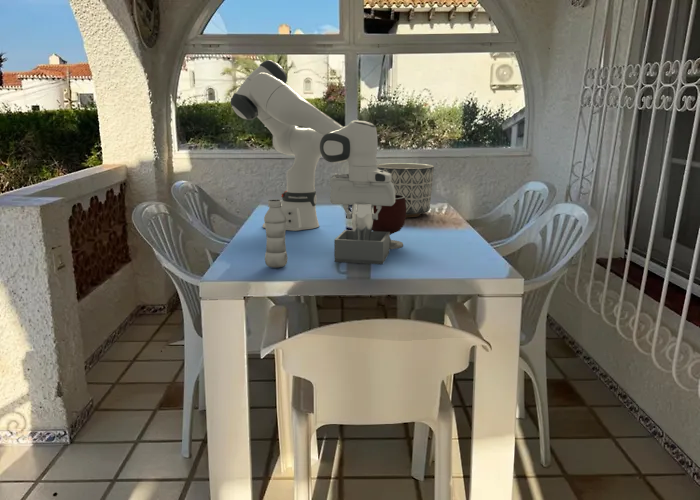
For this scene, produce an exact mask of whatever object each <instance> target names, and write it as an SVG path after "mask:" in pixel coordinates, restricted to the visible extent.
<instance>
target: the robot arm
mask: <svg viewBox="0 0 700 500" xmlns="http://www.w3.org/2000/svg"><path fill="white" fill-rule="evenodd" d="M287 75H288V74H287V73H286V72H285V70H284V68H283V67H282V66H281V64H279V63H278V62H276V61H274V60H271V59H267V60H264V61H263V62H261V63H260V64H259V65H258V67H257V68H256V69H254V70H253V71H252V72H251V73H250V74H249V75H248V76H247V77H246V79H245V80H244V82H242V84H241V85H240V86H239V88H238V89H237V90H236V92H234V93H233V94H232V97H231V99H230V106H231V107H232V109H233V111H234V113H235V114H236V115H237V116H238V117H240V118H241V119H243V120H246V121H253V120H254V119H256V118H257V119H258V120H259V121H260V122H261V123H262V124H263V125H264V126H265V127H266V128H267V129H268V130H269V132H270V133H271V134H272V145H273V148H274V149H275V151H277V153H280V154H282V155H285V156H290V157H291V156H294V159H293V160H294V161H293V164H292V166H291V167H290V168H288V169H287V171H286V190H285V191H284V192H283V193H282V194H281V198H282V199H281V205H282V207H281V209H282V210H283V212H284V213H285V214H286V217H287V221H286V230H285V231H294V232H295V231H296V232H298V231H302V230H312V229H315V228H319V227H320V224H319V219H318V216H317V207H316V205H317V192H316V189H315V185H316V184H315V182H316V181H315V180H316V169H317V165H318V163H319V161H320V159H321V157H322V158H323V159H324V160H325V161H326V162H328V163H333V164H337V163H346V162H347V163H348V173H341V174H338V173H335V174H334V175H332V176H331V177H330V178H329V186H330V193H329V194H330V195H329V200H330V201H329V202H330V203H331V204H332V205H343V206H342V208H343V210H344V211H345V212H344V213H345V214H346V219H348V220H352V211H351V212H350V210H349V207H350V205H352V206H353V203H357V204H371V205H376V209H378V210H377V212H376V213H374V214H373V220H378V213H379V212H380V210H381V208H382V206H392V205H394V203H395V189H394V185H393V183H392V182H391V181H390V180H391V179H392V175H391V174H390V173H388V172H385V171H382V170H379V169H377V165H378V161H377V155H378V154H377V153H378V152H379V151H378V149H379V147H378V146H379V144H378V132H377V131H378V130H377V127H376V125H375V124H374V123H372V122H370V121H365V120H357V119H354V120H352V121H350V122H349V123H348V124H347V125H345V126H344V125H342V124H340V123H339V122H337V121H336V120H335V119H333V118H332V117H330V116H329V115H328V114H326V113H325V112H323V111H321V110H320V109H319V108H317V107H316V106H314V105H313V104H312V103H311V102H310V101H308V100H306V99H305V98H304V97H303V96H302V95H300V94H299V93H298V92H297V91H296V90H294V88H292V87H291V86H289V85H288V84H287V81H288V76H287ZM262 228H263V229H266V228H265V222H264V223H263V224H262Z"/></svg>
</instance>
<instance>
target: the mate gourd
mask: <svg viewBox="0 0 700 500" xmlns="http://www.w3.org/2000/svg"><path fill="white" fill-rule="evenodd" d="M377 210H378V209H376V205H374V213H376V212H377ZM406 219H407V218H406V200H405V196H404V195H399V194H395V203H394V205H392V206H382V208H381V210H380V212H379V213H378V220H374V221H373V226H372V231H378V232H390V236H392V235H393V234H395V233H397V232H400V231H401V230H402V228H404V226H405V223H406ZM403 247H404V243H403V242H402V241H399V240H396V239H395V240H394V239H391V238H390V244H389V250H396V249H400V248H403Z"/></svg>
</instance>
